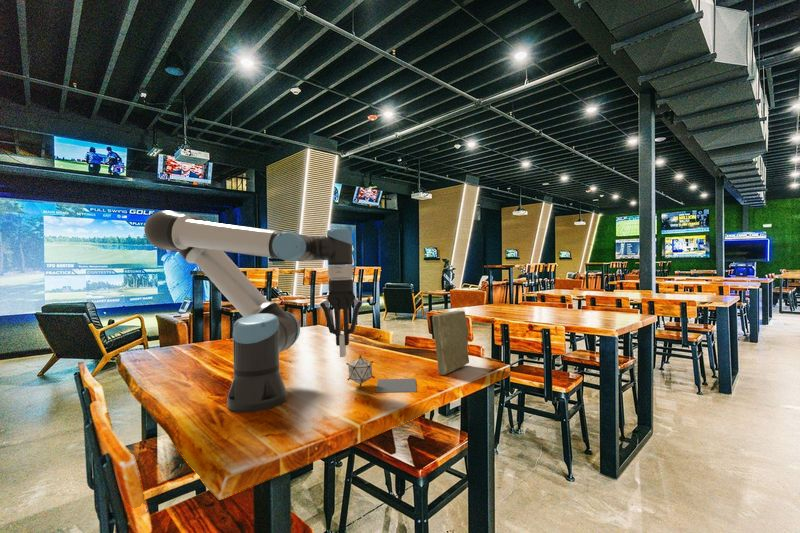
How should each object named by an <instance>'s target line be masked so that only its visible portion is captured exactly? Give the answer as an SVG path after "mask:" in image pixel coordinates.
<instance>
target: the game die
mask: <svg viewBox="0 0 800 533" xmlns="http://www.w3.org/2000/svg"><path fill="white" fill-rule="evenodd" d="M373 363H374V360H372V361H368V360H367V359H365V358H363V357H362V355H361V354H359V357H358V358H356V359H355V360H352V362H350V363H348V362H346V365H347V366H348V378H347V379H346V380H347V381H353V382H355V383H357V384H359V386H360V387H362V384H364V383H365V382H367V381H369V380H370V379H376V378H375V376H373V368H372V366H373V365H372V364H373Z"/></svg>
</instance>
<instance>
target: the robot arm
mask: <svg viewBox="0 0 800 533" xmlns="http://www.w3.org/2000/svg"><path fill="white" fill-rule="evenodd" d="M143 231H144V235H145V237H146V239H147V241H148V242H149V243H150V244H151V245H152V246H154V247H155V248H158V249H161V250H165V251H176V252H178V253H179V254H180V256H181V257H182V258H183V259H184V260H185V262H187V263H188V264H195V265H197V266H198V268H199V269H200V270H201V271H202V272H203V273H204V275H205V276H206V277H207V278H208V279H209V280H210V282H212V283H213V285H214V286H215V287H216V288H217V289H218V290H219V291H220V292H221V294H222V295H223V297H225V298H226V299H227V301H228V302H229V303H230V304H231V305H232V306H233V307H234V308H235V310H236V311H237V312H238V313H239V314H240V315H241V317H240V318H238V319H237V320H236V321H235V322H234V323H233V328H232V329H233V330H232V350H233V351H232V353H233V356H232V357H233V379H232V382H231V384H230V388H229V390H228V395H227V398H226V399H227V400H226V406H227V409H229V410H230V411H232V412H237V413H253V412H254V413H255V412H261V411H267V410H269V409H274V408H276V407H278V406H280V405H281V404H283V403H284V402H286V400H287V389H286V385H285V384H284V380H283V378H282V374H281V372H280V354H281V353H282V352H284V351H286V350H288V349H290V348H291V347H292V346H293V345H294V344H295V343H296V342H297V340H298V338H299V337H300V332H301V326H300V322H299V319H298V318H297V317H296V316H295V314H293V313H291V312H289V311H285V310H284V309H282V307H281V306H280V305H279V304H278V303H277V302H276V301H269V300H268V299H267V298H266V297H265V296H264V295H263V294H262V292H260V290H259V289H258V287H256V286H255V285H254V284H253V283H252V281H251V280H250V279H249V278H248V277H247V276H246V274H244V273H243V271H241V269H240V268H239V266H237V265H236V264H235V262H233V260H232V259H231V257H229V256H228V254H227V253H234V254H243V255H249V256H257V257H265V258H271V259H272V258H273V259H279V260H282V261H290V262H311V261H312V262H313V261H327V277H328V279H330V280H328V283H327V284H328V295H327V298H326V299H325V300H324V301H322V302H320V304H319V305H320V307H321V309H322V310H323V313H324V317H325V320H326V324H327V328H328V331H329V334H332V335H334V336H335V344H336V346H339V358H346V355H347V346H349V344H350V334H353V333H354V332H355V331H356V330H355V329H356V326H357V321H358V316H359V312H360V309H361V306H362V305H363V301H362V300H359V299H357V298H356V295H355V293H354V280H353V279H352V278H353V277H354V265H353V240H352V239H353V238H352V231H351V230H350V229H348V228H342V227H340V228H339V227H335V228H329V229H327V230H326V234H325V235H316V236H315V235H311V236H308V235H304V234H299V233H297V232H294V231H278V230H273V229H268V228H267V229H265V228H258V227H251V226H243V225H235V224H226V223H221V222H220V223H219V222H212V221H210V220H208V219H207V218H206V217H205V218H204V217H203V216H199V215H196V214H187V213H182V212H178V211H174V210H160V211H157V212H155V213H153V214H151V215H150V216H149V217H148V218H147V219H146V221H145V224H144V230H143ZM225 252H227V253H225ZM353 303H354V304H353ZM330 305H331V306H332V309H334V319H335V320H333V318H332V314H331V311H330ZM351 305H353V306H354V310H353V313H352V319H351V324H350V320H349V311H350V309H349V308H351ZM341 310H342V314H343V316H342V317H343V333H342V329H341ZM333 321H334V322H333Z"/></svg>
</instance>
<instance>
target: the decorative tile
mask: <svg viewBox="0 0 800 533" xmlns="http://www.w3.org/2000/svg"><path fill="white" fill-rule="evenodd" d="M431 320H432V327H433V328H432V330H433V336H434V345H435V352H436V361H437V362H436V363H437V373H438V375H439V376H441V375H442V376H444V375H448V374H449V373H451V372H454V371H455V370H457V369H460V368H462V367H464V366H466V365H467V364H469V363H470V358H469V351H468V344H469V340H468V337H469V331H470V330H469V329H470V328H469V327H468V321H467V317H466V311H465V310H453V311H447V312H442V313H438V314H433V315H432V319H431Z"/></svg>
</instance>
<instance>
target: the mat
mask: <svg viewBox="0 0 800 533" xmlns="http://www.w3.org/2000/svg"><path fill="white" fill-rule="evenodd" d="M417 389H418V388H417V381H416V378H377V384H376V388H375V394H380V393H381V394H384V393H385V394H386V393H387V394H388V393H392V394H393V393H418V392H417Z"/></svg>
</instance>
